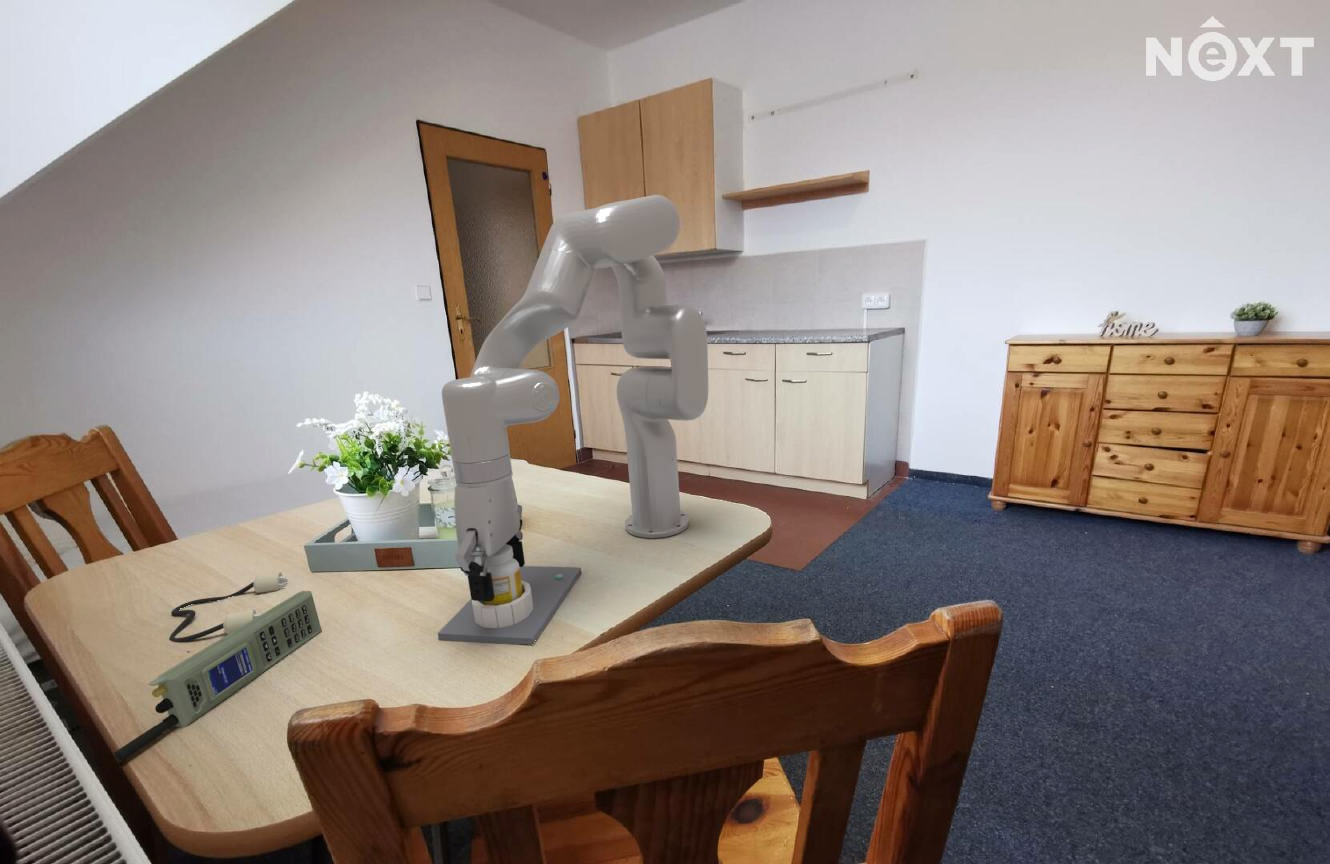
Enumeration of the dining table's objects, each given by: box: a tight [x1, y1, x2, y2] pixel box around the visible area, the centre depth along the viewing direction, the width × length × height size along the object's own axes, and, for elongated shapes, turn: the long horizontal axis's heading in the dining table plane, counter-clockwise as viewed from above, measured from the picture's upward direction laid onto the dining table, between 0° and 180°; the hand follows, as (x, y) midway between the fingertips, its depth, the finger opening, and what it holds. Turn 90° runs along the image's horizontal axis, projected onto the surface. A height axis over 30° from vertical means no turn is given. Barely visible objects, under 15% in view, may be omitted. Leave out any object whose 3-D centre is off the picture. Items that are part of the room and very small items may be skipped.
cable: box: [168, 571, 289, 643], centre depth 88 cm, size 16×16×4 cm
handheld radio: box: [113, 590, 322, 763], centre depth 70 cm, size 7×3×25 cm
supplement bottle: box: [483, 544, 523, 606], centre depth 81 cm, size 5×5×10 cm
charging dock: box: [437, 565, 582, 645], centre depth 86 cm, size 20×14×4 cm
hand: (499, 581), depth 81 cm, fingers open, 9 cm apart
